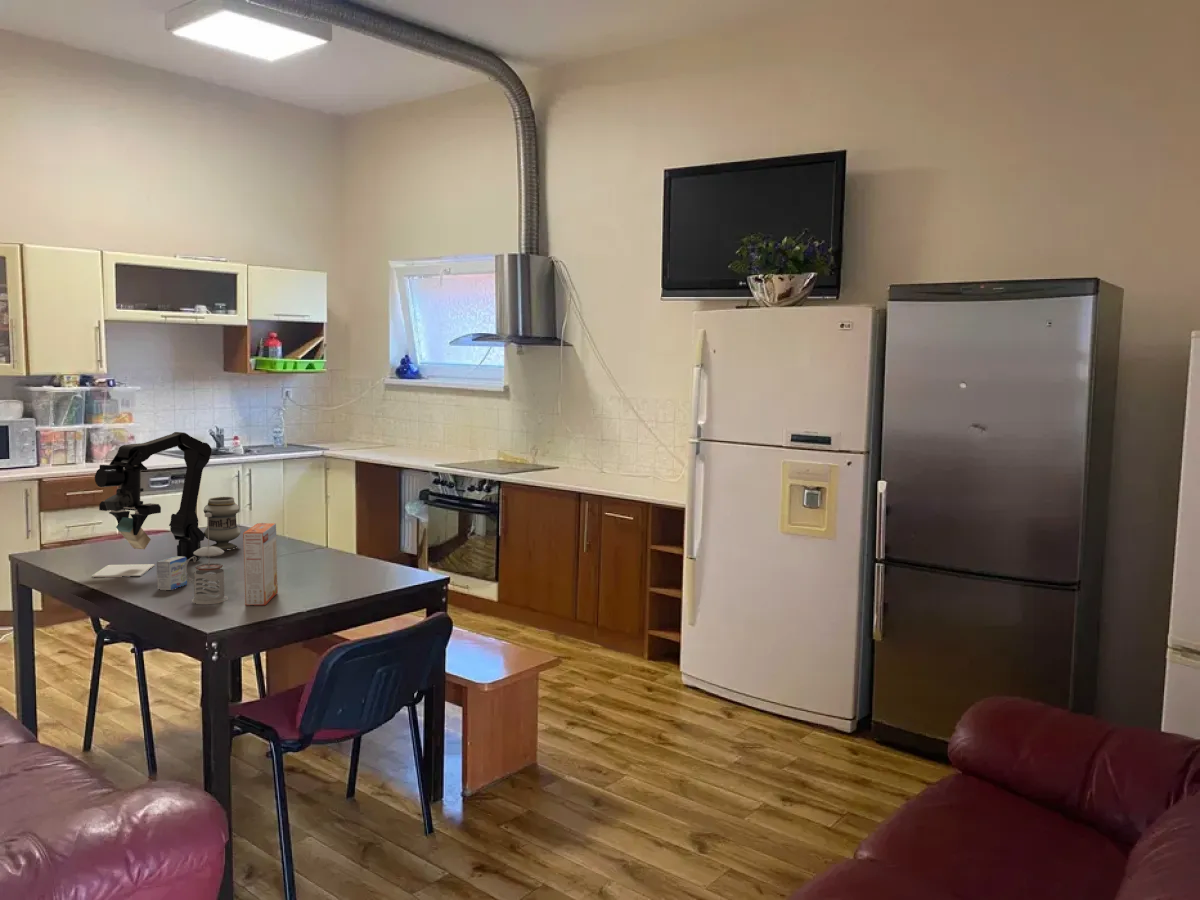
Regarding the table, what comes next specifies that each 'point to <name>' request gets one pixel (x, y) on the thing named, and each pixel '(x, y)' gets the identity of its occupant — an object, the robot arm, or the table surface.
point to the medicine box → (171, 573)
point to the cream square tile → (123, 570)
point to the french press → (208, 576)
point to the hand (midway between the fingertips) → (129, 534)
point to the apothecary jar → (222, 522)
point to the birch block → (135, 540)
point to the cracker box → (260, 563)
